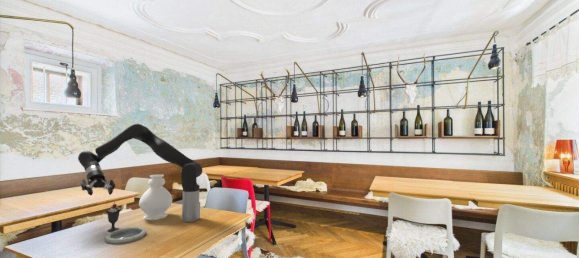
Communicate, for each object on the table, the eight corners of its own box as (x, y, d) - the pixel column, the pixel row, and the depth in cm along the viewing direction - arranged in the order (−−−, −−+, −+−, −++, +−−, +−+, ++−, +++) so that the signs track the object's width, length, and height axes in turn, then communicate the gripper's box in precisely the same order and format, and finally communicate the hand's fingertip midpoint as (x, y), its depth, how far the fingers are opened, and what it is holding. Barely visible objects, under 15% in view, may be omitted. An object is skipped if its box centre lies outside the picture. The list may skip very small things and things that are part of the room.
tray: (130, 227, 131) (130, 224, 131) (154, 232, 125) (154, 229, 125) (95, 240, 115) (96, 236, 116) (121, 246, 109) (121, 242, 109)
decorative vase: (152, 211, 160) (153, 172, 161) (177, 212, 157) (178, 173, 158) (131, 220, 142) (132, 177, 143) (159, 222, 140) (160, 178, 140)
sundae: (112, 233, 124) (113, 203, 125) (101, 231, 126) (102, 202, 126) (124, 228, 131) (124, 199, 131) (113, 227, 132) (114, 199, 132)
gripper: (81, 169, 131) (87, 188, 122) (112, 169, 143) (119, 187, 134) (76, 180, 133) (82, 200, 124) (107, 180, 144) (114, 198, 135)
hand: (101, 193), depth 129 cm, fingers open, 8 cm apart
